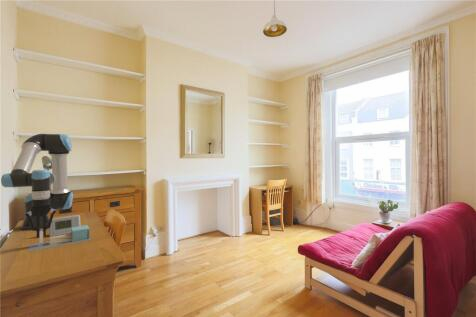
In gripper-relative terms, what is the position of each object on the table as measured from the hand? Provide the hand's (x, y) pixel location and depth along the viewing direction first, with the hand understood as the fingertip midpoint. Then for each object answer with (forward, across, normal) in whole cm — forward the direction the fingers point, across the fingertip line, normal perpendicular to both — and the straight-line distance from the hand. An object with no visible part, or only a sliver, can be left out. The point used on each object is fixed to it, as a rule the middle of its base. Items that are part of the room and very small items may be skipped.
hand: (41, 242), depth 126 cm
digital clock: (+3, +11, +17) cm, 21 cm away
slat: (+2, +10, 0) cm, 11 cm away
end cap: (+2, +17, 0) cm, 17 cm away
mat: (+2, +8, -1) cm, 9 cm away
